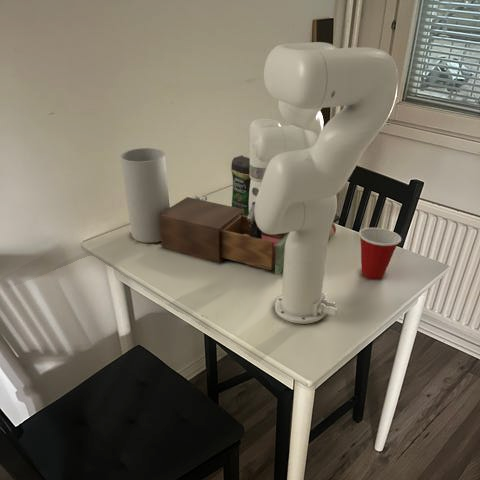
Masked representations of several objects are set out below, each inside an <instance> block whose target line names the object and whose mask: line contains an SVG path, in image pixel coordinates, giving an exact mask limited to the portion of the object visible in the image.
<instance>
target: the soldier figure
mask: <svg viewBox="0 0 480 480" xmlns="http://www.w3.org/2000/svg"><path fill="white" fill-rule="evenodd" d="M194 199H199V200H203V201H208V196H207V195H204V196H201V195H194Z"/></svg>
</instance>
